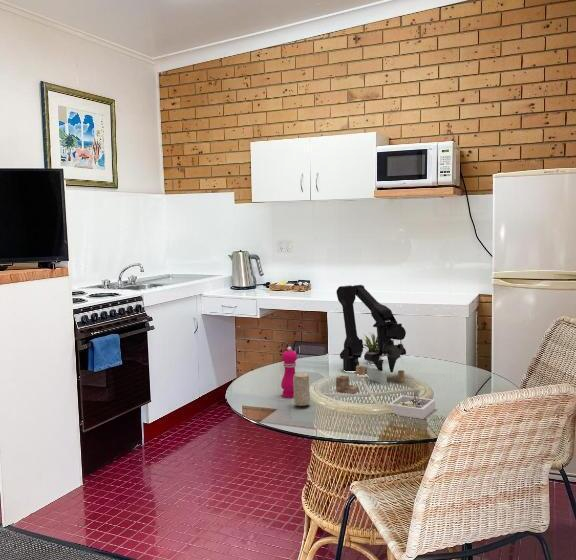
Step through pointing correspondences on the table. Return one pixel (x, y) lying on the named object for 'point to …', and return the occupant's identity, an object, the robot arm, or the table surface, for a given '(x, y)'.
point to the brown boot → (345, 385)
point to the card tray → (412, 411)
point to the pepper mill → (288, 372)
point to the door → (376, 375)
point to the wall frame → (362, 371)
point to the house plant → (371, 346)
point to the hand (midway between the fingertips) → (386, 373)
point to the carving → (301, 389)
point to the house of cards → (418, 405)
